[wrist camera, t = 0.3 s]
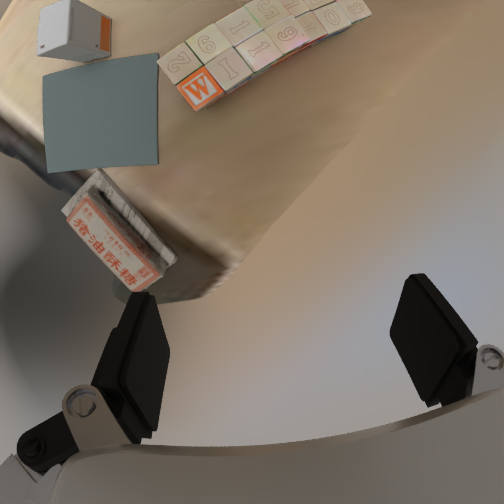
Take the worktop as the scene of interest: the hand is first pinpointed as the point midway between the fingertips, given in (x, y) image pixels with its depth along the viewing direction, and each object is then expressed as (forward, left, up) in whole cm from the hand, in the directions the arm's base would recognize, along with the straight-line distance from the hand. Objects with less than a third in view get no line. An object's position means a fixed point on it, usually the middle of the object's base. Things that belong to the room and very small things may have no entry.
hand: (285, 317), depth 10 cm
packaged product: (+11, -19, -31) cm, 38 cm away
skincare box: (-17, -21, -31) cm, 41 cm away
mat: (-6, -21, -31) cm, 38 cm away
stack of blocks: (-15, +1, -31) cm, 34 cm away
